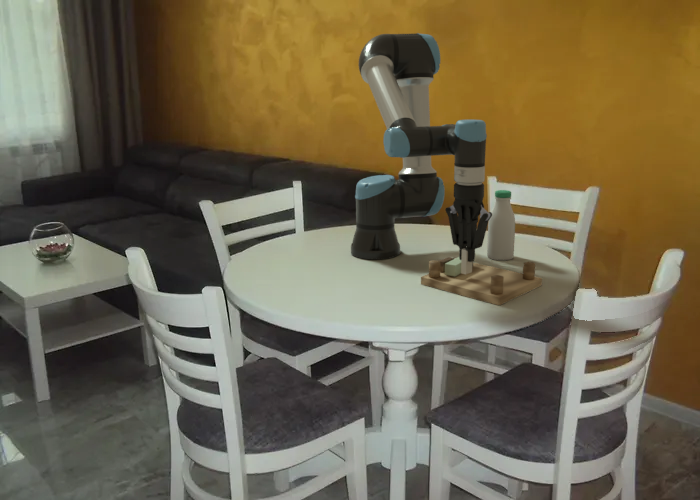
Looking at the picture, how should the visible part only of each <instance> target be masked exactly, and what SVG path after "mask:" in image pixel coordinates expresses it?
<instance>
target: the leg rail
mask: <svg viewBox="0 0 700 500" xmlns="http://www.w3.org/2000/svg"><path fill="white" fill-rule="evenodd" d="M474 261H475V260H474ZM474 261H473V262H472V267H473V263H475V262H474ZM460 273H461V260H460V258H459V256H458V257H455V258H454V259H453V260H451V261H449V262H447V263H445V275H449V276H454V277H455V276H457V275H459V274H460Z"/></svg>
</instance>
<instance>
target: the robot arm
mask: <svg viewBox="0 0 700 500" xmlns="http://www.w3.org/2000/svg"><path fill="white" fill-rule="evenodd" d="M440 64H441V52H440V47H439V44H438V42H437V41H436V39H435V37H434V36H433V35H431V34H428V33H427V34H426V33H419V32H417V33H382V34H378V35H376V36H374V37H372V38H371V39H370V40H369V41H368V42H366V44H365V45H364V46H363V47H362V49H361V51H360V54H359V56H358V70H359V74H360V76H361V78H362V80H363V81H364V83H366V84H368V86H369V89H370V91H371V93H372V96H373V98H374V100H375V101H374V102H375V103H376V106H377V109H378V110H379V112H380V116H381V117H382V120H383V122H384V125H385V127H386V130H385V131H384V133H383V147H384V152H385V154H386V155H387V156H388V157H389V158H401V159H402V168H401V170H399V172H398V179H396V178H395V176H394V175H391V174H383V175H382V174H379V175H371V176H367V177H365V178H362V179H360V180H359V181H358V182H357V183H356V186H355V195H354V198H355V224H356V225H355V226H356V227H355V231H354V235H353V239H352V243H351V245H350V254H351V256H353V257H356V258H357V259H358V258H359V259H363V260H386V259H391V258H395V257H397V256H399V255H400V254H401V245H400V243H399V240H398V236H397V232H396V230H395V229H396V228H395V219H402V218H403V219H404V218H405V219H406V218H413V217H414V218H415V217H428V216H434V215H436V214H438V213H439V212H440V210H441V209H442V207H443V204H444V200H445V193H446V192H445V190H446V189H445V184H444V181H443V179H442V178H441V177H440V176H437V175H438V174H437V173H438V172H437V170H436V169H435V168H434V167H433V166H432V156H447V155H449V156H454V171H453V172H454V174H453V179H454V180H453V181H454V182H455V183H454V184H453V197H454V201H453V203H452V205H450V206H448V207H445V213H446V215H447V217H448V223H449V228H450V229H449V230H450V234H451V240H452V244H453V245H454V246H457V247H458V249H459V255H458V257H459V258H460V260H461V274H469V273H471V272H472V262H473V261H475V259H476V249H480V248H482V246H483V245H484V244H483V243H484V240H485V236H486V232H487V230H488V224H489V219H490V218H491V217H492V213H491V211H488V210H486V208H485V205H484V202H483V200H484V198H485V184H484V182H485V179H486V178H485V177H486V148H487V147H486V146H487V136H488V135H487V125H486V124H487V123H486V122H485V121H484V120H482V119H459V120H457V121H456V123H455V124H453V123H449V124H442V125H432V126H431V118H430V117H431V116H430V113H431V112H430V87H429V86H430V84H431V83H432V82H433V81H434V75H435V74H438V72H439V70H440Z"/></svg>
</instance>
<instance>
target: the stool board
mask: <svg viewBox="0 0 700 500" xmlns="http://www.w3.org/2000/svg"><path fill="white" fill-rule="evenodd" d="M453 259H455V258H454V257H450V256H447V257H445V258H442V259H438V260H436V259H435V260H430V261H428V274H425V275H421V276H420V285H422V286H427V287H431V288H434V289H438V290H441V291H446V292H449V293H453V294H456V295H460V296H463V297H467V298H471V299H474V300H478V301H482V302H485V303H488V304H493V305H496V306H501V305H504V304H506V303H508V302H510V301H511V300H514V299H516V298H519V297H520V296H523V295H525V294H526V293H528V292H529V293H530V292H531V291H533V290H535V289H537V288H540V287H541V286H542V284H543V277H539V276H536V263H535V262H533V261H524V262H523V265H522V273H521V272H517V271H513V270H508V269H504V268H499V267H496V266H491V265H487V264H482V263H478V262H474V263H473V267H472V272H471V273H469V274H461V273H460V274H459V275H457V276H455V277H454V276H449V275H445V263H447V262H449V261H451V260H453Z"/></svg>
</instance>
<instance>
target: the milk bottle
mask: <svg viewBox="0 0 700 500" xmlns="http://www.w3.org/2000/svg"><path fill="white" fill-rule="evenodd" d="M494 199H495V202H494V204H493V207H492V209H491V211H490V212H491V213H492V217H491V218H490V219H489V221H488V225H487V246H486V255H487V258H488V259H491V260H494V261H510V260H512V259H513V258H514V255H515V254H514V252H515V239H516V238H515V235H516V232H515V231H516V217H515V213H514V211H513V207H512V203H511V200H512V191H511V190H507V189H498V190H496V191H494Z"/></svg>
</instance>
